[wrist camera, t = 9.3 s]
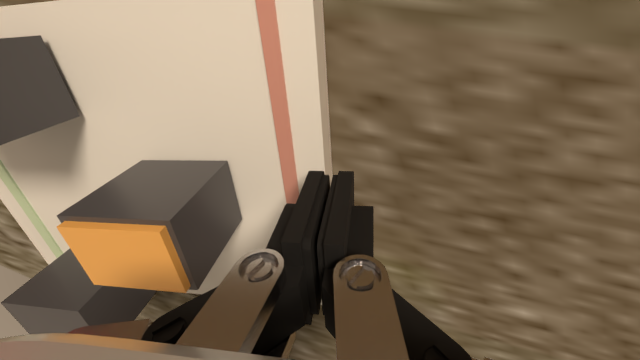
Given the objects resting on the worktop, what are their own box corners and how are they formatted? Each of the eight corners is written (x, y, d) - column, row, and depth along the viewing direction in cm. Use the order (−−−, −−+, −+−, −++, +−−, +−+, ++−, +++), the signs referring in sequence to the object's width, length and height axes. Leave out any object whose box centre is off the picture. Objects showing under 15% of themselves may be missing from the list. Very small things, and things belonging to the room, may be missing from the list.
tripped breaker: (227, 160, 12) (163, 227, 8) (242, 219, 13) (192, 297, 10) (141, 160, 13) (47, 221, 9) (164, 215, 14) (91, 288, 10)
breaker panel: (321, -21, 10) (264, -53, 5) (338, 277, 18) (323, 394, 12) (-66, 19, 13) (-360, 25, 8) (86, 259, 21) (-14, 346, 15)
